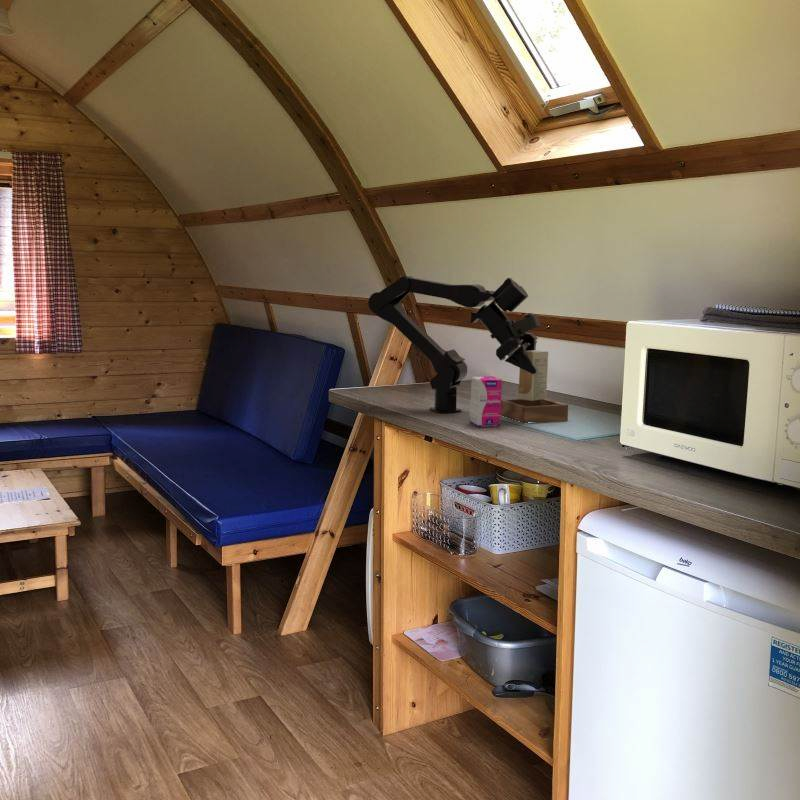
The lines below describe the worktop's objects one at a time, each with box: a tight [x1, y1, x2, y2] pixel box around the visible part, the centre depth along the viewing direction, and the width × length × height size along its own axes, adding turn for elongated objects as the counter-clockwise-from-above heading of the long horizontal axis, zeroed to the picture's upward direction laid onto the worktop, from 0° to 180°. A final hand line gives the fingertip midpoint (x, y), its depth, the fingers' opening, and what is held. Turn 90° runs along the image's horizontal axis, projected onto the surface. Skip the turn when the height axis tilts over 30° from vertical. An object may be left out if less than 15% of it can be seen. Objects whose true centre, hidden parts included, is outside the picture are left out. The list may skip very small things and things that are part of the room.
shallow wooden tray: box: [500, 398, 569, 424], centre depth 222 cm, size 12×12×4 cm
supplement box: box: [469, 375, 503, 428], centre depth 211 cm, size 6×6×12 cm
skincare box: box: [517, 349, 549, 401], centre depth 221 cm, size 6×4×12 cm
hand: (539, 371), depth 220 cm, fingers closed on skincare box, 7 cm apart
